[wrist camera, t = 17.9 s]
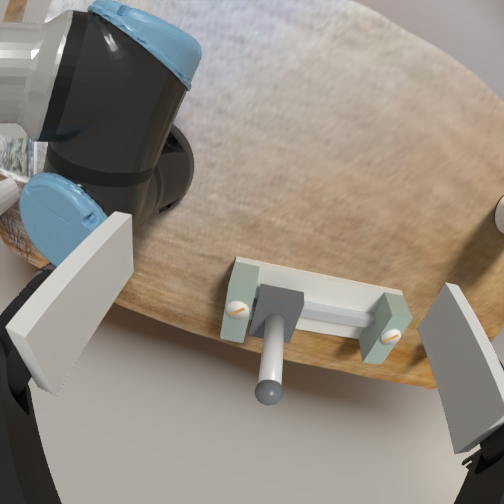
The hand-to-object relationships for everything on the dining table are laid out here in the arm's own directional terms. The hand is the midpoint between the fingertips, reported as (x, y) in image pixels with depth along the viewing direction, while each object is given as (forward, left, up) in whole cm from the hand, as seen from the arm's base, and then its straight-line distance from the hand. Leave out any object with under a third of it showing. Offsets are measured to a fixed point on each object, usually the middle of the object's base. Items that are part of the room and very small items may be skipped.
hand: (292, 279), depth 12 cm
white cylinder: (-54, -17, -33) cm, 65 cm away
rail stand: (+11, -27, -33) cm, 44 cm away
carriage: (+4, -27, -29) cm, 40 cm away
